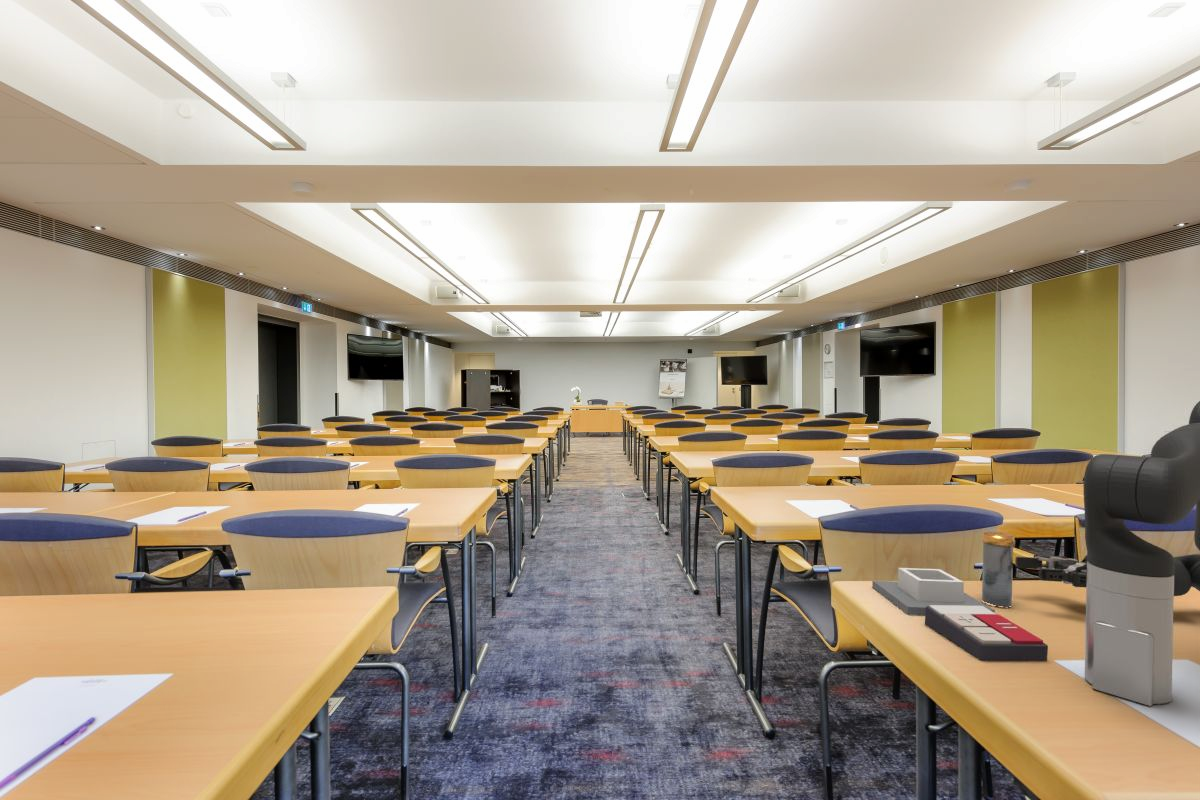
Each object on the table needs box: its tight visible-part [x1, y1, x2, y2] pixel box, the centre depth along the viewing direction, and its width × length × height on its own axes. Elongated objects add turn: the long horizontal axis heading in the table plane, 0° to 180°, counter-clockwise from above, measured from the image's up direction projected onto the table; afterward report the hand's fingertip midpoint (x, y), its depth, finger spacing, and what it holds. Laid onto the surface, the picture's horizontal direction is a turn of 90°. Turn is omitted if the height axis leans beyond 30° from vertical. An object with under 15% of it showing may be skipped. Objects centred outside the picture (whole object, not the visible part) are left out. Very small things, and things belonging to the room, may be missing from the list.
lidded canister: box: [981, 531, 1015, 607], centre depth 117 cm, size 5×5×14 cm
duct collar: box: [871, 567, 996, 616], centre depth 117 cm, size 16×16×6 cm
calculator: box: [924, 605, 1049, 662], centre depth 98 cm, size 11×4×15 cm
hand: (1027, 567), depth 116 cm, fingers open, 8 cm apart
